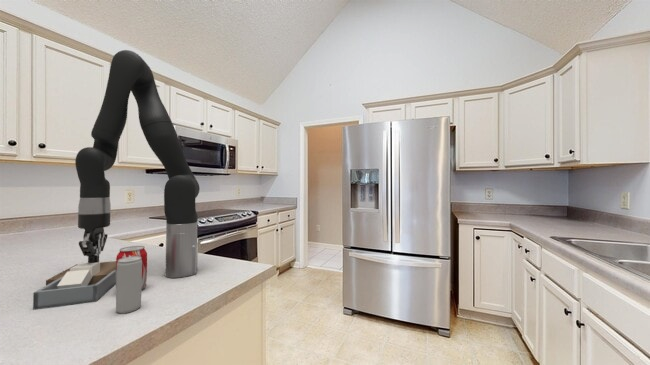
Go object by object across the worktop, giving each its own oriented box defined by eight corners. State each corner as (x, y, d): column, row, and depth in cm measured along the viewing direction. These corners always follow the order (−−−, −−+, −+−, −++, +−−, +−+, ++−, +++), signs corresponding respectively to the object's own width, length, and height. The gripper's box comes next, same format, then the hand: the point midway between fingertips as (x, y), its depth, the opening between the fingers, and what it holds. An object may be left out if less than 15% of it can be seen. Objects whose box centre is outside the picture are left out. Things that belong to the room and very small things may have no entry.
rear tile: (100, 271, 79) (100, 262, 79) (91, 277, 74) (91, 266, 74) (79, 273, 77) (79, 263, 77) (69, 279, 72) (69, 268, 73)
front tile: (92, 277, 74) (89, 269, 73) (83, 291, 70) (80, 283, 69) (70, 279, 73) (67, 271, 71) (60, 293, 68) (56, 286, 67)
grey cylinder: (125, 304, 63) (126, 256, 64) (145, 304, 64) (146, 256, 64) (110, 314, 59) (111, 262, 59) (132, 313, 59) (133, 261, 59)
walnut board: (133, 268, 92) (133, 259, 92) (116, 283, 77) (116, 273, 77) (76, 273, 86) (76, 264, 86) (45, 291, 71) (45, 280, 71)
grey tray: (116, 283, 77) (116, 270, 77) (96, 301, 65) (96, 285, 65) (64, 289, 73) (64, 275, 73) (33, 309, 61) (33, 292, 61)
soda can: (112, 297, 67) (113, 252, 68) (118, 288, 74) (119, 246, 74) (144, 293, 71) (145, 249, 71) (148, 284, 77) (149, 244, 77)
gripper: (100, 213, 75) (98, 273, 75) (117, 209, 88) (116, 260, 87) (67, 214, 73) (65, 275, 72) (90, 210, 85) (89, 262, 85)
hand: (93, 267), depth 80 cm, fingers closed
